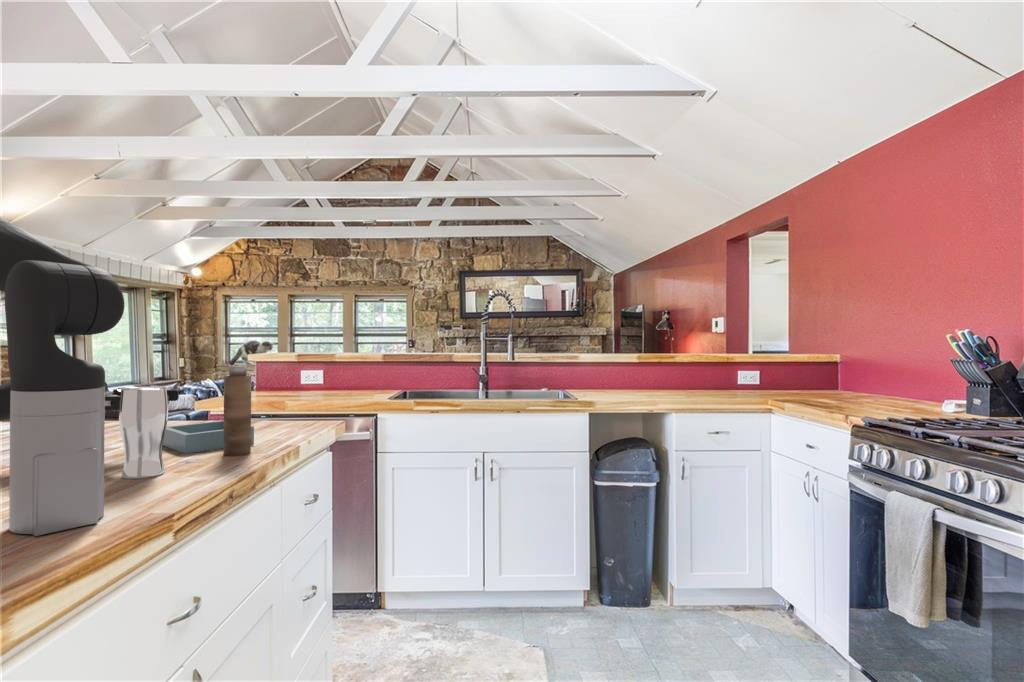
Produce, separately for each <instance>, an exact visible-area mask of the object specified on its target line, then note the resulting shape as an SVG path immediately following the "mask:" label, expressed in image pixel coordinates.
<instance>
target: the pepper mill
mask: <svg viewBox="0 0 1024 682" xmlns="http://www.w3.org/2000/svg"><path fill="white" fill-rule="evenodd" d="M247 368H248V366H247V365H229V366H228V374H226V375H224V376H223V420H224V438H223V448H222V450H223V456H225V457H239V456H246V455H249V454H251V453H252V449H251V446H252V444H251V426H252V374H248V372H247V371H248V370H247Z"/></svg>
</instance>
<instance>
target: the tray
mask: <svg viewBox="0 0 1024 682" xmlns="http://www.w3.org/2000/svg"><path fill="white" fill-rule="evenodd" d="M223 438H224V419H223V420H215V421H205V422H196V423H186V424H177V425H170V426H168V425H167V426H166V431H165V436H164V440H163V446H164V447H166V448H168V449H172V450H174V451H177V452H179V453H181V454H191V453H197V452H206V451H211V450H218V449H219V450H220V449H223ZM254 443H255V426H252V425H251V445H253V444H254ZM163 446H162V447H163Z"/></svg>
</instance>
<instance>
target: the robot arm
mask: <svg viewBox="0 0 1024 682" xmlns="http://www.w3.org/2000/svg"><path fill="white" fill-rule="evenodd" d="M0 292H3V293H4V312H5V323H6V337H7V340H6V341H7V365H8V372H9V378H10V379H9V380H10V382H5V383H3V384H0V422H3V421H9V475H8V476H9V479H8V480H9V483H8V484H9V493H8V495H9V497H8V498H9V503H8V504H9V507H8V508H9V509H8V510H9V511H8V512H9V513H8V514H9V517H8V519H9V521H8V522H9V523H8V524H9V525H8V526H9V527H8V530H9V531H10V532H11V533H13V534H19V535H20V534H23V535H33V536H34V537H36V536H37V537H38V536H43V535H45V534H52V533H57V532H60V531H65V530H71V529H75V528H79V527H84V526H88V525H89V526H90V525H94V524H97V523H99V519H101V518H103V516H104V515H105V510H104V509H105V428H106V427H105V424H106V423H105V422H106V421H105V420H106V418H105V417H106V413H107V411H119V404H120V395H121V389H122V388H126V387H117V388H114V389H113V391H110V389H109V387H108V383H107V382H106V372H105V368H104V367H103V366H102V365H100V364H98V363H95V362H92V361H88V360H85V359H81V358H78V357H75V356H73V355H70V354H68V352H67V353H66V352H65V351H64V350H62V349H61V348H59V346H58V343H57V342H56V336H93V335H98V334H103V333H106V332H108V331H110V330H112V329H113V328H115V327H116V326H117V324H118V323H120V320H121V319H122V317H123V315H124V311H125V298H124V294H123V291H122V288H121V287H120V284H119V283H118V282H117V280H116V279H115V278H114V276H113V275H112V274H111V273H110V272H108V271H106V270H105V269H103V268H100V267H99V266H98V267H97V266H94V265H91V264H88V263H86V262H83V261H80V260H77V259H75V258H72V257H70V256H68V255H67V254H65V253H63V252H61V251H60V250H58V249H56V248H55V247H53V246H51V245H49V244H48V243H46V242H44V241H42V240H41V239H39V238H38V237H36V236H35V235H33V234H32V233H30V232H29V231H28V230H25V229H23V228H21V227H20V226H17V225H16V224H13V223H11V222H10V221H8V220H7V219H5V218H3V217H2V216H0ZM179 392H180V390H178V389H167V399H168V405H169V404H170V402H175V401H179V399H180V398H179V397H180V393H179Z"/></svg>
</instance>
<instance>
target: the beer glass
mask: <svg viewBox="0 0 1024 682" xmlns="http://www.w3.org/2000/svg"><path fill="white" fill-rule="evenodd" d="M121 388H122V389H121V395H120V404H119V410H118V422H119V429H120V434H121V439H122V444H123V449H124V461H123V462H124V463H123V467H122V472H121V477H122V478H123V479H126V480H140V479H147V478H149V479H150V478H153V477H158V476H160V475H162V474H163V475H164V473H165V466H164V462H163V461H164V460H163V440H164V436H165V431H166V427H167V426H168V425H167V424H168V419H169V404H168V399H167V390H168V389H167V388H168V387H167V386H157V385H155V386H154V385H153V386H152V385H151V386H134V387H133V386H132V387H125V388H123V387H121Z"/></svg>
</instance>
